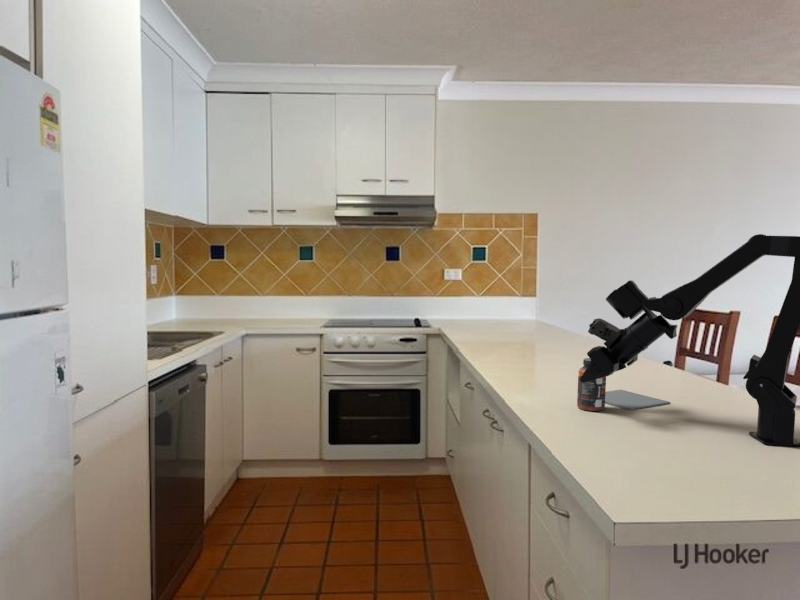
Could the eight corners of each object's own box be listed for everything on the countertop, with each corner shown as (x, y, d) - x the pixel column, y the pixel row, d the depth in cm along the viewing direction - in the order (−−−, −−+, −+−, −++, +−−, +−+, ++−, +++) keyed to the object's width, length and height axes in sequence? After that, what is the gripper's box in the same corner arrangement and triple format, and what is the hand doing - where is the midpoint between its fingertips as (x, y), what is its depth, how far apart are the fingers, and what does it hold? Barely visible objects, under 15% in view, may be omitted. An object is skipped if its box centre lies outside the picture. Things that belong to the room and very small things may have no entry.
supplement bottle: (606, 413, 120) (609, 362, 120) (578, 411, 122) (580, 360, 121) (602, 406, 126) (604, 357, 125) (575, 404, 127) (577, 356, 127)
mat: (670, 403, 130) (670, 401, 130) (630, 410, 123) (630, 408, 123) (620, 391, 142) (620, 389, 142) (582, 396, 135) (582, 395, 135)
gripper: (625, 305, 127) (577, 346, 135) (598, 309, 113) (546, 356, 120) (660, 342, 123) (608, 383, 130) (637, 351, 108) (580, 397, 116)
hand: (585, 379), depth 124 cm, fingers closed on supplement bottle, 6 cm apart
